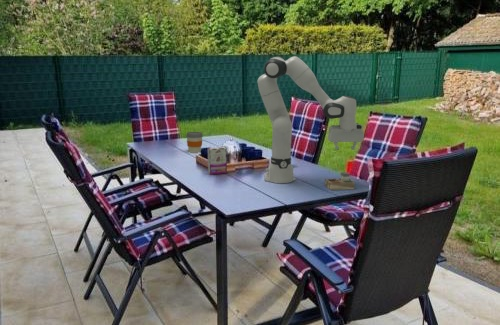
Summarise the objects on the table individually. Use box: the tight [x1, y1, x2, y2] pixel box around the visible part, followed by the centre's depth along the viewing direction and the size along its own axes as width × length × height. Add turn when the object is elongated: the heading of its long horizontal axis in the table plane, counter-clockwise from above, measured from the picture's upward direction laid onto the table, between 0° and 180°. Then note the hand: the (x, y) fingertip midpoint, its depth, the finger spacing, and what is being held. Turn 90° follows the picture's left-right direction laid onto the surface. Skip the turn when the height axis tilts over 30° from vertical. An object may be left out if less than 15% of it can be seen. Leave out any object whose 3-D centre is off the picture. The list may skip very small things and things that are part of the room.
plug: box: [340, 172, 350, 181], centre depth 247 cm, size 4×4×8 cm
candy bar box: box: [207, 146, 228, 176], centre depth 273 cm, size 11×5×16 cm, turn 112°
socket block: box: [324, 177, 356, 191], centre depth 246 cm, size 9×14×4 cm, turn 101°
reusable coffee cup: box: [185, 131, 204, 154], centre depth 339 cm, size 13×13×15 cm
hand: (344, 149), depth 247 cm, fingers open, 8 cm apart
